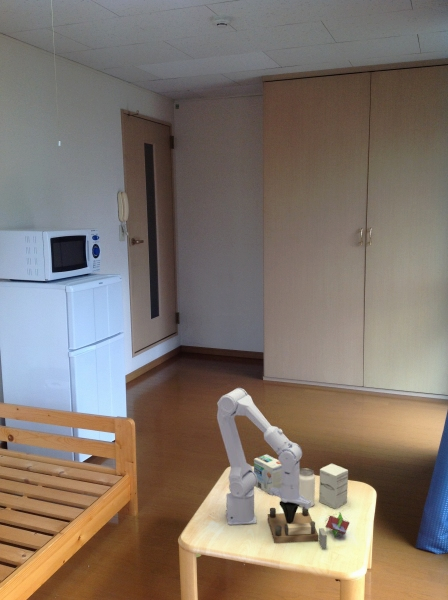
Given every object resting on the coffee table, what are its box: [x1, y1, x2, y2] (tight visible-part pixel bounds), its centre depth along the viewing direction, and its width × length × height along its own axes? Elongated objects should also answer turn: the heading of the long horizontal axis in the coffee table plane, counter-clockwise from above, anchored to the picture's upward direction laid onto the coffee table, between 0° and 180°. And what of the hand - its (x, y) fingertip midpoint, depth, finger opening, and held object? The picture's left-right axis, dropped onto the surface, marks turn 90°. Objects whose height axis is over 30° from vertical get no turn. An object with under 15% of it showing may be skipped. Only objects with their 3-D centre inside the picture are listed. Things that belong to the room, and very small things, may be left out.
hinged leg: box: [285, 520, 316, 535], centre depth 177 cm, size 10×2×3 cm, turn 94°
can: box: [299, 467, 316, 508], centre depth 199 cm, size 6×6×12 cm
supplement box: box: [318, 463, 349, 510], centre depth 200 cm, size 7×7×13 cm
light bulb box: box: [253, 453, 282, 495], centre depth 211 cm, size 11×7×11 cm, turn 37°
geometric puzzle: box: [324, 512, 351, 538], centre depth 180 cm, size 7×7×8 cm
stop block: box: [318, 527, 328, 550], centre depth 174 cm, size 1×4×5 cm, turn 4°
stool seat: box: [267, 506, 319, 544], centre depth 183 cm, size 14×14×4 cm
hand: (289, 521), depth 182 cm, fingers closed
